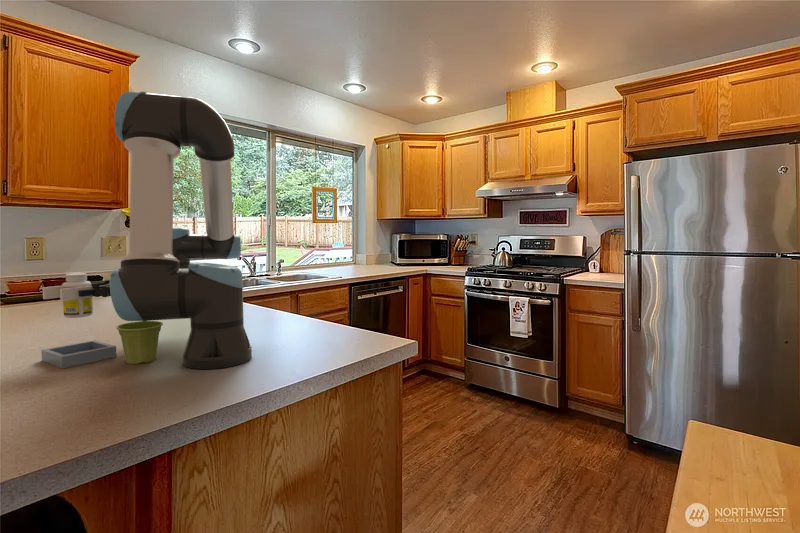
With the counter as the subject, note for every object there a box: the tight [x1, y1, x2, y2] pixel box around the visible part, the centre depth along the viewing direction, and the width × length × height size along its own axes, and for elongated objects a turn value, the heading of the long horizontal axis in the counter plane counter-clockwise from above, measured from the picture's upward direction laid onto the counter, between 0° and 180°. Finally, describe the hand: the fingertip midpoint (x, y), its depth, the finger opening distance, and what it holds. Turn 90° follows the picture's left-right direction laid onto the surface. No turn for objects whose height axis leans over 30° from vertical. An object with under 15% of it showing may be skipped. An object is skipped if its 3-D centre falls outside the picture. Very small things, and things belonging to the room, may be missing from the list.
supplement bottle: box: [61, 272, 94, 319], centre depth 99 cm, size 6×6×10 cm
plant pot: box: [116, 320, 164, 365], centre depth 98 cm, size 9×9×9 cm
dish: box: [41, 339, 117, 369], centre depth 100 cm, size 11×11×3 cm
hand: (52, 294), depth 94 cm, fingers closed on supplement bottle, 5 cm apart
